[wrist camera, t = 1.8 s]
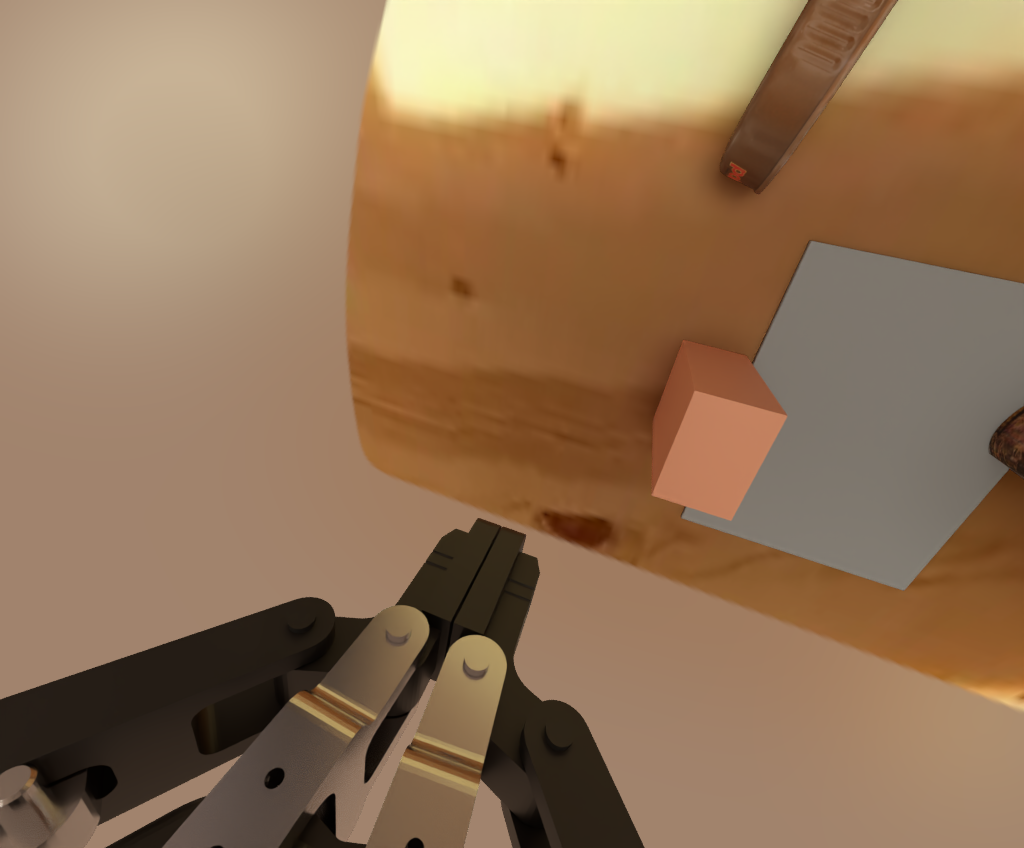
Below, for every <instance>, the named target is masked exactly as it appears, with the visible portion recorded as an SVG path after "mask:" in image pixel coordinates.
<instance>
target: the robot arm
mask: <svg viewBox="0 0 1024 848" xmlns="http://www.w3.org/2000/svg"><path fill="white" fill-rule="evenodd" d="M525 538H526V534H523V533H520V532H517V531H514V530H512V529H509V528H506V527H502V529H501V526H500V525H497V524H494V523H491V522H488V521H486V520H483V519H480V518H478V519H477V520H476V522H475V523H474V525H473V527H472V528H471V530H470V532H469V533H466V532H464V531H461V530H458V529H455V530H453V531H451V532H450V533H448V534H447V535H445V536H443V537H442V538H441V540H440V541H439V543H438V544H437V545H436V547H435V549H434V550H433V552H432V553H431V554H430V556H429V557H428V559H427V560H426V563H424V565H423V566H422V567H421V569H420V570H419V572H418V573H417V575H416V576H415V578H414V579H413V581H412V582H411V584H410V585H409V586H408V588H407V589H406V591H405V593H404V594H403V595H402V597H401V598H400V600H399V601H398V602H397V604H396V605H395V606H392V607H389V608H386V609H384V610H383V611H381V612H380V613H378V614H377V615H376V616H375V617H372V618H365V619H360V618H359V619H358V618H345V617H335V613H334V610H333V608H332V607H331V605H330V604H329V603H328V602H326V601H324V600H322V599H319V598H313V597H306V598H300V599H296V600H293V601H290V602H287V603H284V604H281V605H279V606H275V607H272V608H269V609H266V610H264V611H260V612H258V613H254V614H251V615H249V616H246V617H243V618H240V619H237V620H234V621H231V622H228V623H225V624H222V625H219V626H216V627H213V628H210V629H207V630H204V631H201V632H198V633H196V634H192V635H189V636H187V637H184V638H181V639H178V640H175V641H172V642H169V643H166V644H163V645H160V646H157V647H154V648H151V649H148V650H145V651H142V652H139V653H136V654H133V655H130V656H127V657H124V658H121V659H118V660H115V661H113V662H110V663H107V664H104V665H101V666H98V667H95V668H92V669H89V670H86V671H83V672H80V673H77V674H75V675H71V676H68V677H65V678H63V679H59V680H56V681H53V682H50V683H48V684H45V685H42V686H39V687H36V688H33V689H30V690H27V691H24V692H21V693H18V694H15V695H12V696H9V697H6V698H4V699H1V700H0V848H84V847H85V845H86V844H87V843H88V841H89V840H90V838H91V837H92V835H93V833H94V831H95V829H96V827H97V826H98V825H100V824H102V823H104V822H106V821H108V820H110V819H112V818H114V817H116V816H118V815H120V814H122V813H124V812H126V811H128V810H130V809H132V808H134V807H136V806H138V805H140V804H143V803H145V802H146V801H149V800H150V799H152V798H154V797H157V796H159V795H161V794H163V793H165V792H167V791H169V790H171V789H173V788H175V787H177V786H179V785H181V784H183V783H185V782H187V781H189V780H191V779H193V778H195V777H197V776H199V775H201V774H203V773H205V772H207V771H209V770H211V769H213V768H215V767H217V766H219V765H221V764H223V763H226V762H228V761H230V760H232V759H234V758H236V757H237V756H240V755H242V756H241V757H240V758H239V759H238V760H237V761H236V763H235V764H234V765H233V766H232V767H231V769H230V770H229V771H228V772H227V773H226V774H225V775H224V776H223V778H222V779H221V780H220V781H219V782H218V784H217V785H216V786H215V787H214V788H213V789H212V790H211V792H210V793H209V794H208V795H207V796H205V797H202V798H199V799H197V800H194V801H192V802H189V803H187V804H185V805H183V806H181V807H179V808H177V809H175V810H173V811H171V812H169V813H167V814H166V815H164V816H162V817H160V818H158V819H156V820H155V821H153V822H151V823H149V824H147V825H146V826H144V827H142V828H140V829H139V830H137V831H135V832H133V833H131V834H129V835H127V836H126V837H124V838H122V839H120V840H118V841H117V842H115V843H113V844H111V845H110V846H107V847H106V848H464V844H465V839H466V836H467V832H468V828H469V823H470V819H471V815H472V811H473V807H474V803H475V799H476V795H477V791H478V786H479V782H480V779H481V780H482V781H483V782H484V783H485V784H486V785H487V786H488V787H489V788H490V789H491V790H492V791H493V792H494V793H495V795H496V796H497V797H498V798H499V799H500V800H501V805H502V811H503V814H504V818H505V822H506V825H507V829H508V832H509V836H510V840H511V843H512V847H513V848H644V846H643V843H642V841H641V839H640V837H639V835H638V833H637V831H636V828H635V826H634V824H633V822H632V820H631V818H630V816H629V814H628V811H627V809H626V807H625V805H624V803H623V801H622V799H621V796H620V794H619V792H618V790H617V788H616V786H615V784H614V781H613V780H612V777H611V775H610V773H609V771H608V769H607V767H606V764H605V762H604V760H603V758H602V756H601V754H600V752H599V750H598V747H597V745H596V743H595V741H594V739H593V737H592V734H591V732H590V730H589V728H588V726H587V724H586V722H585V721H584V719H583V718H582V716H581V715H580V714H579V713H578V712H577V711H576V710H575V709H574V708H573V707H571V706H570V705H568V704H566V703H564V702H561V701H557V700H547V701H543V702H542V701H541V700H540V699H539V698H538V697H537V696H535V695H534V694H533V693H532V692H531V691H530V690H529V689H528V688H527V687H526V686H524V684H523V683H522V682H521V680H520V679H519V677H518V675H517V673H516V670H515V666H514V660H513V657H514V654H515V651H516V647H517V645H518V642H519V638H520V635H521V632H522V629H523V626H524V623H525V620H526V617H527V614H528V611H529V608H530V605H531V601H532V598H533V595H534V591H535V588H536V584H537V581H538V578H539V574H540V572H539V566H538V560H537V558H536V557H533V556H530V555H528V554H525V553H522V550H523V546H524V542H525ZM430 679H432V680H434V681H436V683H435V686H434V689H433V691H432V693H431V696H430V699H429V701H428V704H427V706H426V709H425V711H424V714H423V716H422V719H421V721H420V724H419V727H418V729H417V732H416V734H415V737H414V739H413V741H412V743H411V745H409V746H408V747H407V748H406V750H405V752H404V754H403V757H402V759H401V761H400V763H399V766H398V768H397V771H396V773H395V776H394V778H393V781H392V783H391V786H390V788H389V791H388V793H387V796H386V798H385V801H384V803H383V806H382V808H381V811H380V813H379V816H378V818H377V821H376V823H375V826H374V828H373V831H372V833H371V836H370V838H369V840H368V843H367V845H366V844H357V843H350V842H347V840H348V838H349V837H350V835H351V833H352V831H353V829H354V827H355V825H356V823H357V821H358V819H359V816H360V814H361V811H362V809H363V806H364V802H365V800H366V798H367V796H368V793H369V791H370V789H371V788H372V786H373V784H374V782H375V780H376V779H377V777H378V775H379V774H380V772H381V770H382V768H383V767H384V765H385V763H386V761H387V760H388V758H389V756H390V755H391V753H392V751H393V749H394V748H395V746H396V744H397V743H398V741H399V739H400V737H401V736H402V734H403V732H404V730H405V729H406V727H407V725H408V724H409V722H410V720H411V718H412V717H413V715H414V713H415V711H416V709H417V707H418V704H419V700H420V698H421V696H422V694H423V692H424V690H425V688H426V686H427V684H428V682H429V680H430Z"/></svg>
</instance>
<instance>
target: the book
mask: <svg viewBox="0 0 1024 848" xmlns="http://www.w3.org/2000/svg"><path fill="white" fill-rule="evenodd" d="M989 454H990V455H992V456H993V457H995V458H996V459H997V460H999V461H1000V462H1001V463H1003V464H1004V465H1005V466H1007V467H1008V468H1009V469H1011V470H1012V471H1014V472H1015V473H1016V474H1018V475H1019V476H1020V477H1022V478H1023V479H1024V406H1023V407H1022V408H1020V409H1019V410H1017V411H1016V412H1015V413H1013V414H1012V415H1011V416H1010V417H1008V418H1007V419H1006V420H1005V421H1004V422H1003V423H1002V424H1001V425H1000V426H999V427H998V428H997V430H996V431H995V433H994V434H993V436H992V438H991V440H990V443H989Z"/></svg>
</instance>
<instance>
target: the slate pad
mask: <svg viewBox="0 0 1024 848" xmlns="http://www.w3.org/2000/svg"><path fill="white" fill-rule="evenodd" d="M752 364H753V366H754V367H755V369H756V370H757V372H758V373H759V375H760V376H761V377H762V379H763V380H764V382H765V383H766V385H767V386H768V388H769V389H770V391H771V392H772V394H773V395H774V396H775V398H776V399H777V401H778V402H779V404H780V405H781V407H782V408H783V410H784V411H785V413H786V414H787V415H788V416H787V418H786V420H785V422H784V424H783V426H782V428H781V429H780V431H779V433H778V435H777V437H776V439H775V441H774V442H773V444H772V446H771V448H770V450H769V452H768V453H767V455H766V457H765V459H764V461H763V463H762V465H761V466H760V468H759V470H758V472H757V474H756V476H755V478H754V479H753V481H752V483H751V485H750V487H749V489H748V491H747V492H746V494H745V496H744V498H743V500H742V502H741V504H740V505H739V507H738V509H737V511H736V513H735V515H734V517H733V518H732V520H731V521H730V520H727V519H724V518H720V517H717V516H714V515H711V514H708V513H705V512H702V511H699V510H696V509H692V508H689V507H686V506H685V509H684V511H683V513H682V515H681V518H683V519H686V520H689V521H692V522H695V523H698V524H701V525H704V526H707V527H710V528H713V529H716V530H719V531H723V532H726V533H729V534H732V535H735V536H738V537H741V538H744V539H747V540H750V541H753V542H756V543H759V544H762V545H765V546H768V547H772V548H775V549H778V550H781V551H784V552H787V553H790V554H793V555H796V556H799V557H802V558H805V559H808V560H811V561H814V562H818V563H821V564H824V565H827V566H830V567H833V568H836V569H839V570H842V571H845V572H848V573H851V574H854V575H857V576H860V577H864V578H867V579H870V580H873V581H876V582H879V583H882V584H885V585H888V586H891V587H894V588H897V589H900V590H903V591H904V590H905V589H906V588H907V587H908V585H909V584H910V583H911V582H912V581H913V580H914V578H915V577H916V576H917V575H918V574H919V573H920V572H921V570H922V569H923V568H924V567H925V566H926V565H927V563H928V562H929V561H930V560H931V559H932V558H933V556H934V555H935V554H936V553H937V552H938V551H939V550H940V548H941V547H942V546H943V545H944V544H945V543H946V541H947V540H948V539H949V538H950V537H951V536H952V534H953V533H954V532H955V531H956V530H957V529H958V528H959V526H960V525H961V524H962V523H963V522H964V521H965V519H966V518H967V517H968V516H969V515H970V514H971V512H972V511H973V510H974V509H975V508H976V507H977V506H978V504H979V503H980V502H981V501H982V500H983V499H984V497H985V496H986V495H987V494H988V493H989V492H990V490H991V489H992V488H993V487H994V486H995V485H996V484H997V482H998V481H999V480H1000V479H1001V478H1002V477H1003V475H1004V474H1005V473H1006V472H1007V471H1008V470H1009V468H1008V467H1007V466H1005V465H1004V464H1003V463H1001V462H1000V461H999V460H997V459H996V458H995V457H993V456H992V455H990V454H989V443H990V440H991V438H992V436H993V434H994V433H995V431H996V430H997V428H998V427H999V426H1000V425H1001V424H1002V423H1003V422H1004V421H1005V420H1006V419H1007V418H1008V417H1010V416H1011V415H1012V414H1013V413H1015V412H1016V411H1017V410H1019V409H1020V408H1022V407H1023V406H1024V284H1023V283H1018V282H1013V281H1008V280H1003V279H998V278H993V277H988V276H983V275H978V274H973V273H968V272H963V271H958V270H953V269H948V268H943V267H938V266H933V265H928V264H924V263H919V262H914V261H909V260H904V259H899V258H894V257H889V256H884V255H879V254H874V253H869V252H864V251H859V250H854V249H849V248H844V247H839V246H834V245H829V244H824V243H819V242H815V241H809V243H808V245H807V247H806V249H805V252H804V254H803V256H802V258H801V260H800V262H799V264H798V267H797V269H796V271H795V273H794V275H793V277H792V279H791V282H790V284H789V286H788V288H787V290H786V292H785V294H784V297H783V299H782V301H781V303H780V305H779V307H778V309H777V312H776V314H775V316H774V318H773V320H772V322H771V324H770V327H769V329H768V331H767V333H766V335H765V337H764V339H763V342H762V344H761V346H760V348H759V350H758V352H757V354H756V357H755V359H754V361H753V363H752Z"/></svg>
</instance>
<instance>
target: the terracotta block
mask: <svg viewBox="0 0 1024 848" xmlns="http://www.w3.org/2000/svg"><path fill="white" fill-rule="evenodd" d="M787 416H788V415H787V414H786V413H785V411H784V410H783V408H782V407H781V405H780V404H779V402H778V401H777V399H776V398H775V396H774V395H773V394H772V392H771V391H770V389H769V388H768V386H767V385H766V383H765V382H764V380H763V379H762V377H761V376H760V375H759V373H758V372H757V370H756V369H755V367H754V366H753V364H752V363H751V361H750V360H749V358H748V357H747V356H746V355H742V354H738V353H734V352H730V351H726V350H722V349H718V348H714V347H710V346H706V345H702V344H699V343H695V342H691V341H687V340H683V341H682V344H681V347H680V349H679V352H678V355H677V357H676V360H675V363H674V365H673V368H672V371H671V373H670V376H669V379H668V381H667V384H666V386H665V389H664V392H663V394H662V397H661V400H660V402H659V405H658V408H657V410H656V413H655V416H654V418H653V443H652V496H655V497H658V498H661V499H664V500H667V501H671V502H674V503H677V504H680V505H683V506H686V507H689V508H692V509H696V510H699V511H702V512H705V513H708V514H711V515H714V516H717V517H720V518H724V519H727V520H730V521H731V520H732V518H733V517H734V515H735V513H736V511H737V509H738V507H739V505H740V504H741V502H742V500H743V498H744V496H745V494H746V492H747V491H748V489H749V487H750V485H751V483H752V481H753V479H754V478H755V476H756V474H757V472H758V470H759V468H760V466H761V465H762V463H763V461H764V459H765V457H766V455H767V453H768V452H769V450H770V448H771V446H772V444H773V442H774V441H775V439H776V437H777V435H778V433H779V431H780V429H781V428H782V426H783V424H784V422H785V420H786V418H787Z"/></svg>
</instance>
